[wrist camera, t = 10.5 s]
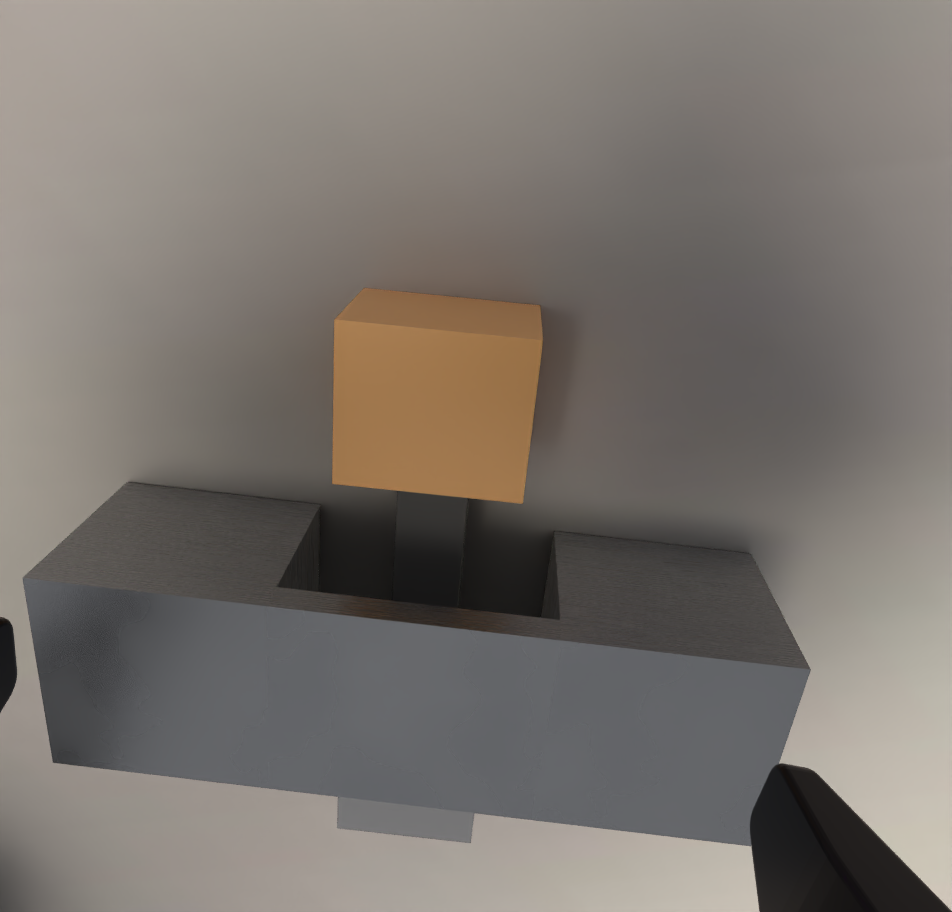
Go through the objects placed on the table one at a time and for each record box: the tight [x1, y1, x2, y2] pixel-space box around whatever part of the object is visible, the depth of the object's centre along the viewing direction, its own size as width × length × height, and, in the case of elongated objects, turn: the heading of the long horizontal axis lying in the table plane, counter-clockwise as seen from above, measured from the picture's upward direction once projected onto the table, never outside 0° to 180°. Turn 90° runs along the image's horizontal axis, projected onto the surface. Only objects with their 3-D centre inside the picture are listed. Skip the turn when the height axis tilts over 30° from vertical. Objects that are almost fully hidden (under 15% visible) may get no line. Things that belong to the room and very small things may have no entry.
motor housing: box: [23, 482, 811, 846], centre depth 19 cm, size 5×16×4 cm, turn 85°
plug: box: [332, 288, 543, 843], centre depth 19 cm, size 14×4×3 cm, turn 175°
